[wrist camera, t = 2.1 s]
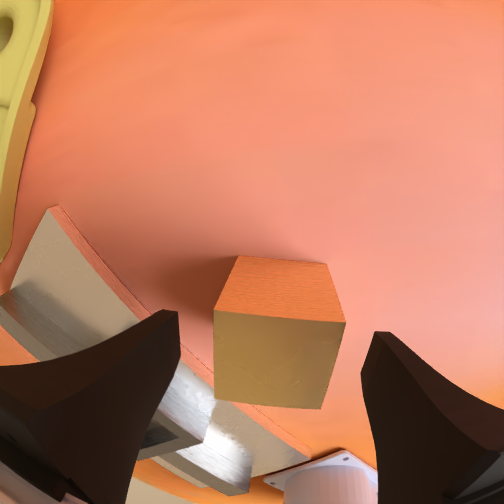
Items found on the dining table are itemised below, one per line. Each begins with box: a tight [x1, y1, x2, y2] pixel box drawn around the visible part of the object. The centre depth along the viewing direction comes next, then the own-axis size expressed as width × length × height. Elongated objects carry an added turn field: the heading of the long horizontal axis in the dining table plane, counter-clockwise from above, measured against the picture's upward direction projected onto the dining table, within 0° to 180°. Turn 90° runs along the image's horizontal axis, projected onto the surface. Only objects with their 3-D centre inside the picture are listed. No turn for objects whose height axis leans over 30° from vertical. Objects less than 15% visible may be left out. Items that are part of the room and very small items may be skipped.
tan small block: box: [213, 255, 346, 409], centre depth 11 cm, size 4×4×5 cm
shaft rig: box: [0, 205, 311, 496], centre depth 16 cm, size 23×12×3 cm, turn 41°
